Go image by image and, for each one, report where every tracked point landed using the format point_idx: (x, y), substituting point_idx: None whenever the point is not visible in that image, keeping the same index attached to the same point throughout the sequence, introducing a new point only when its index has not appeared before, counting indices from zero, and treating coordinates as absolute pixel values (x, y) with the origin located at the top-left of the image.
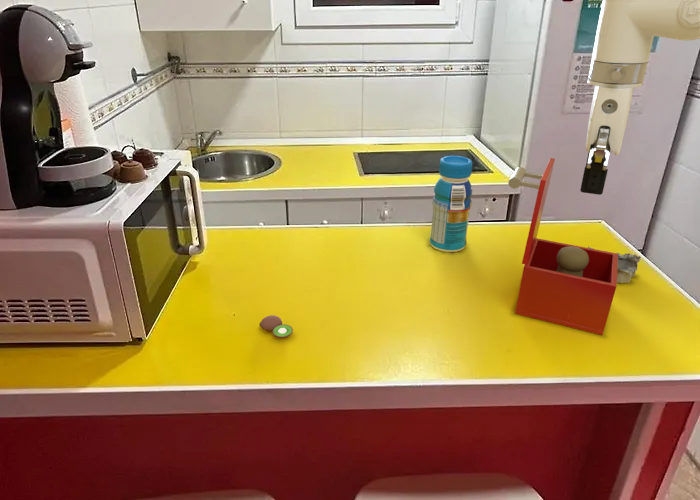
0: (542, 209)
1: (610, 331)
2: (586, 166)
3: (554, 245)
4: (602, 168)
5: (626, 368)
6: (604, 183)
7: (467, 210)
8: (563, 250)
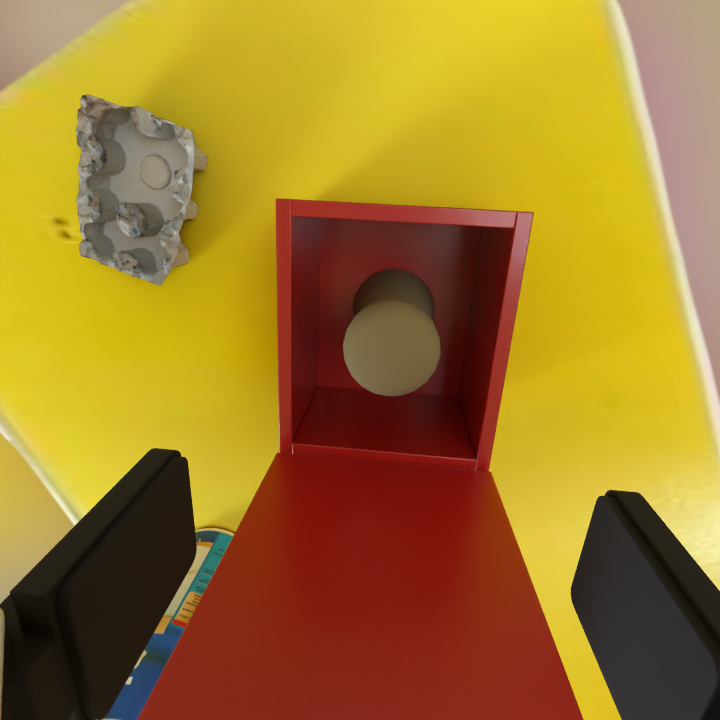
0: (294, 529)
1: (467, 190)
2: (172, 595)
3: (293, 394)
4: (162, 502)
5: (618, 155)
6: (683, 553)
7: (184, 621)
8: (398, 389)
